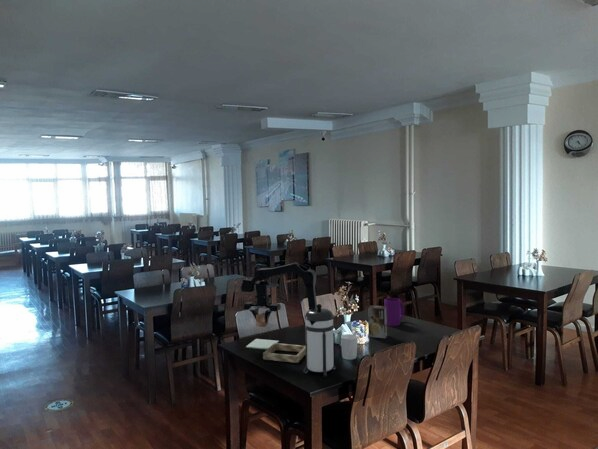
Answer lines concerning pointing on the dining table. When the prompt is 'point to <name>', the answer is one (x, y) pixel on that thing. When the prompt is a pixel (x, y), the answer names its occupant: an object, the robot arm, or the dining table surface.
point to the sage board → (261, 344)
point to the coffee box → (377, 321)
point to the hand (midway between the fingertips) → (262, 322)
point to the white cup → (349, 346)
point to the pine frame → (283, 357)
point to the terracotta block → (261, 320)
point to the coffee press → (319, 340)
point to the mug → (394, 311)
